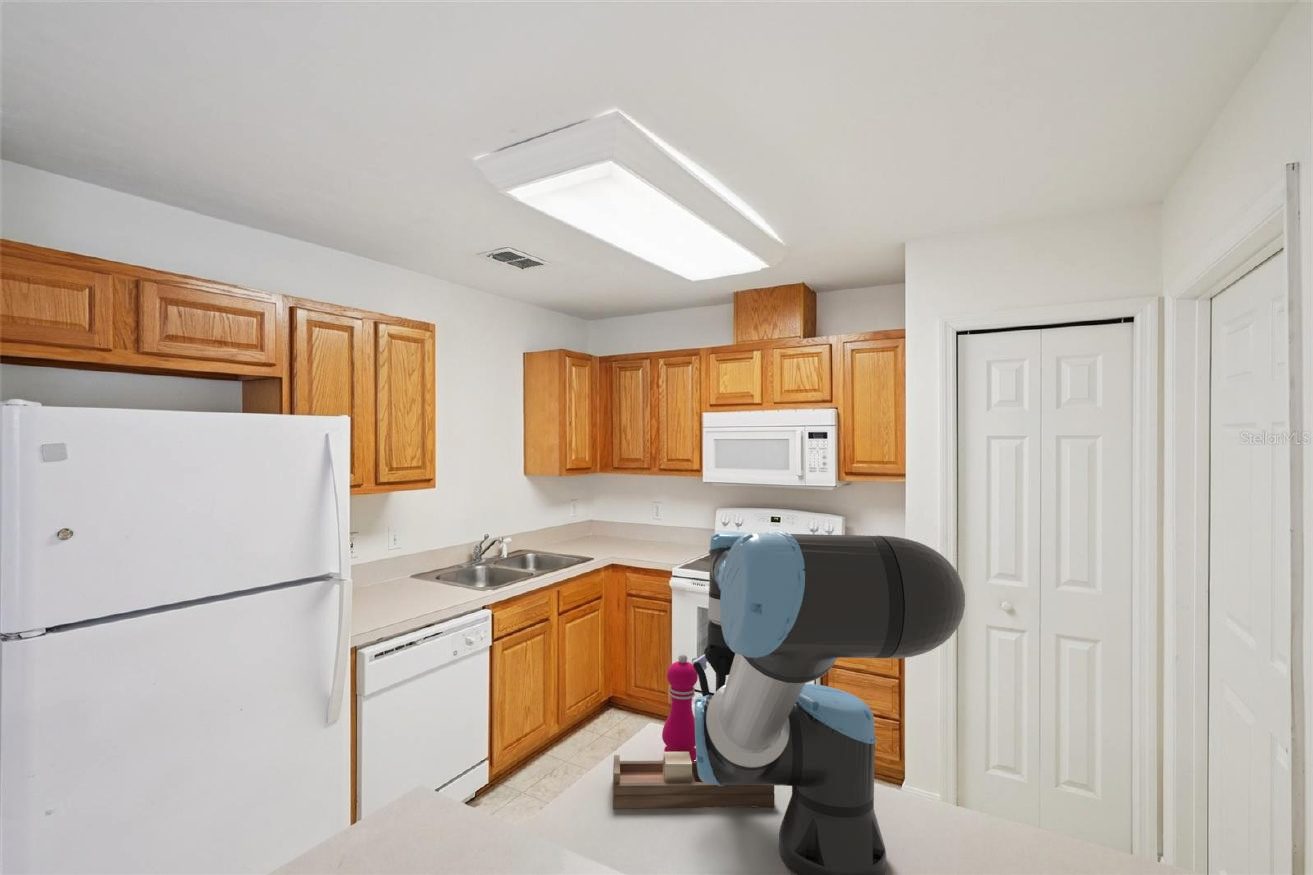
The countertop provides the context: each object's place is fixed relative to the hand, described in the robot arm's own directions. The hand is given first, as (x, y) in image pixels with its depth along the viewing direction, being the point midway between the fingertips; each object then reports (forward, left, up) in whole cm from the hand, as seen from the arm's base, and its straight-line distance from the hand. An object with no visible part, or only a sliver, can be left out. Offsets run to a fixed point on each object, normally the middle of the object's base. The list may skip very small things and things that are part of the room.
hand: (725, 756), depth 107 cm
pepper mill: (+12, +7, -6) cm, 15 cm away
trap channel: (0, +6, -6) cm, 8 cm away
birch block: (0, +9, -4) cm, 9 cm away
